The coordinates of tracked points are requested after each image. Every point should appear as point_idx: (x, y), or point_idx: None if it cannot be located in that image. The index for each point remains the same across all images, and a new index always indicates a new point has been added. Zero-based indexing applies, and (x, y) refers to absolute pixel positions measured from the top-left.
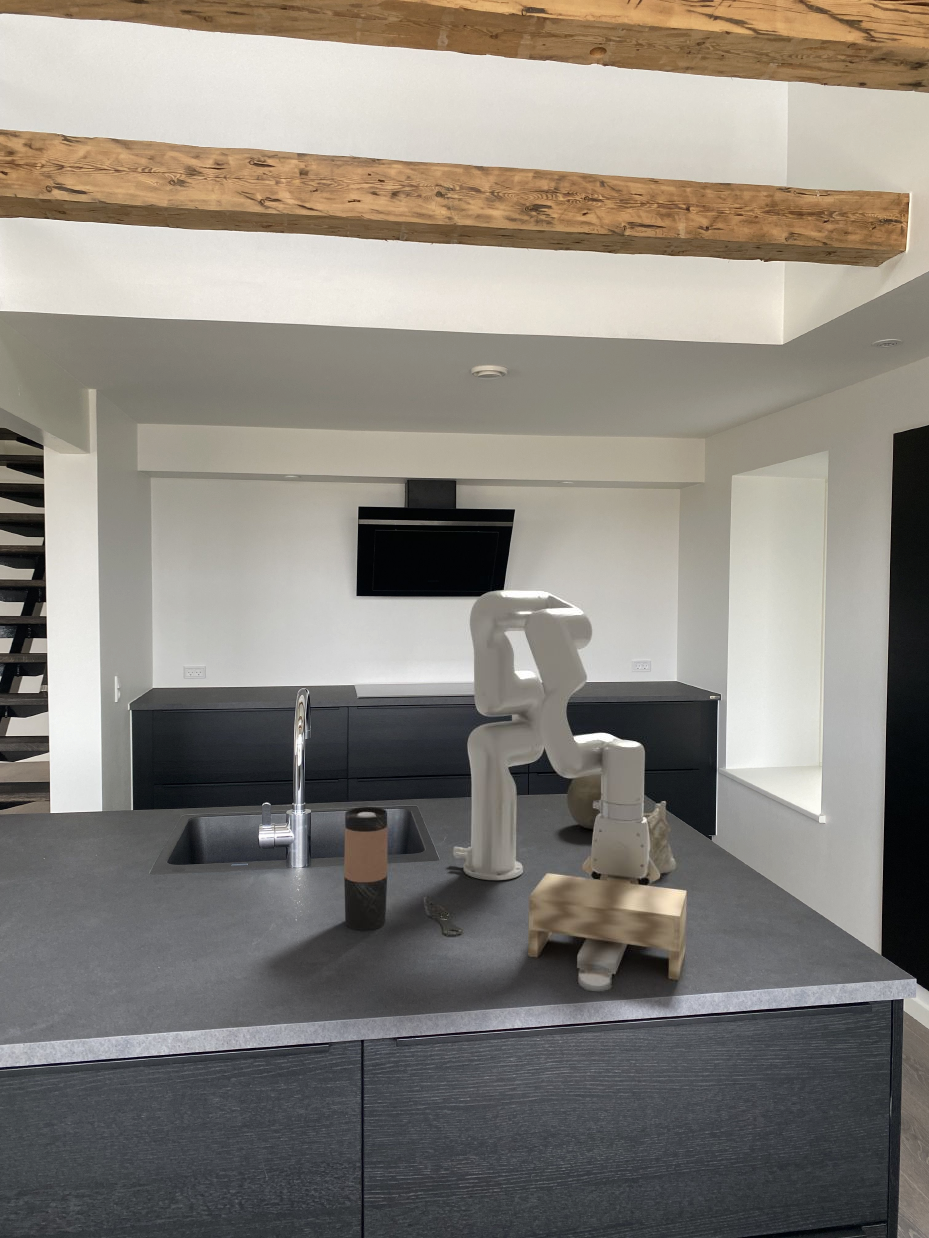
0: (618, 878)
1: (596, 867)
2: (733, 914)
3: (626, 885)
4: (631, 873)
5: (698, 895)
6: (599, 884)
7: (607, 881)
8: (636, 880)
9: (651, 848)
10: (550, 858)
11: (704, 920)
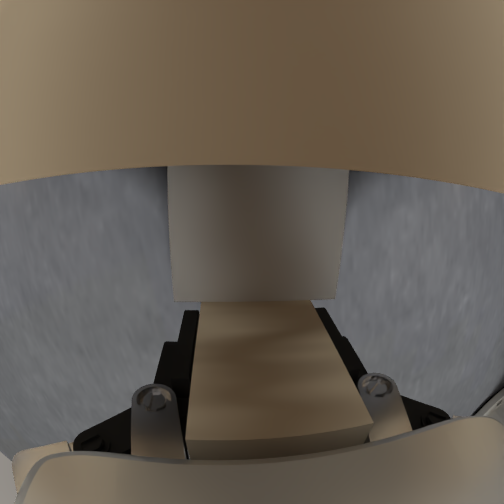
0: (287, 446)
1: (489, 434)
2: (24, 420)
3: (86, 46)
4: (149, 486)
5: None
6: (491, 17)
7: (449, 151)
8: (142, 450)
9: None
10: None
11: (43, 390)
